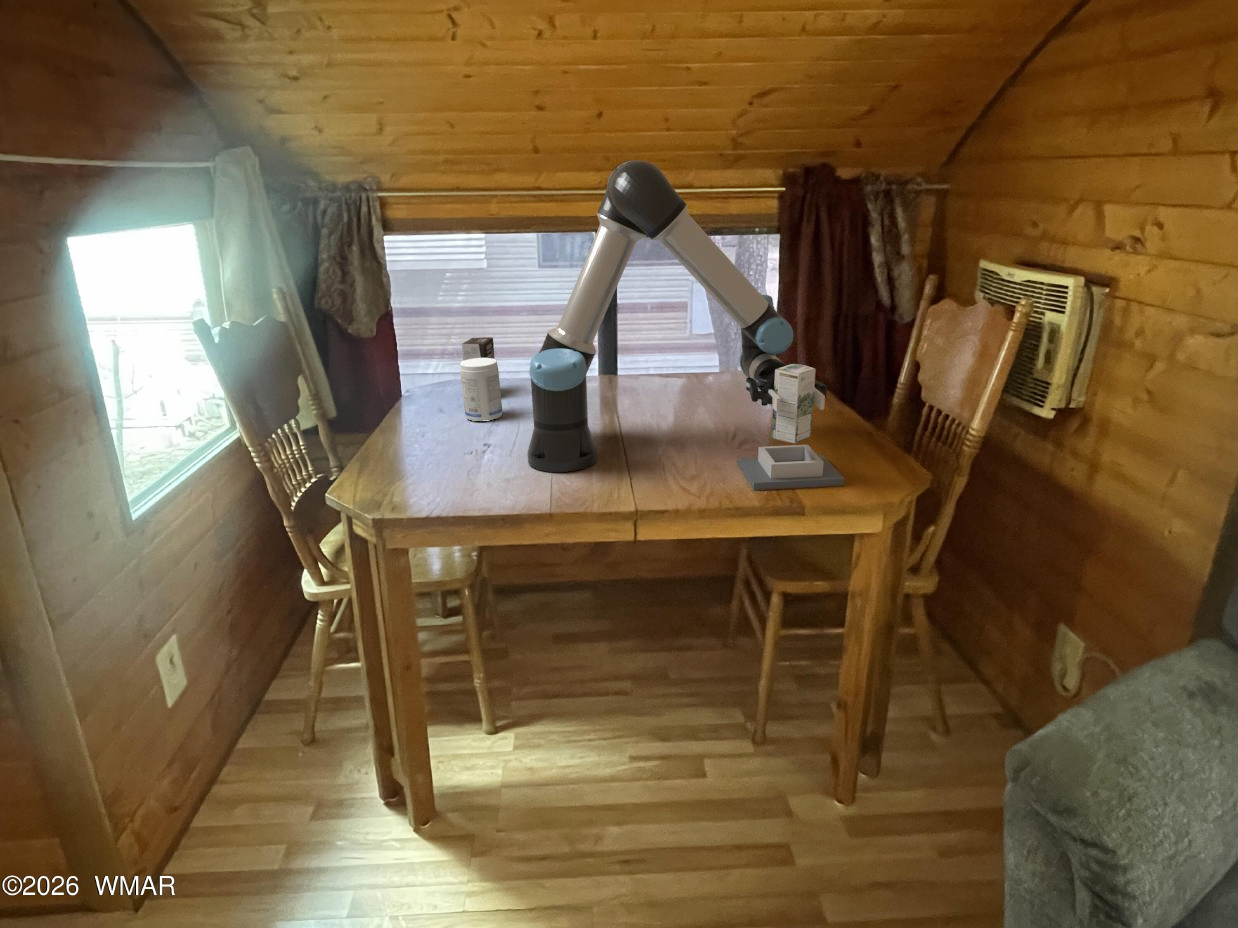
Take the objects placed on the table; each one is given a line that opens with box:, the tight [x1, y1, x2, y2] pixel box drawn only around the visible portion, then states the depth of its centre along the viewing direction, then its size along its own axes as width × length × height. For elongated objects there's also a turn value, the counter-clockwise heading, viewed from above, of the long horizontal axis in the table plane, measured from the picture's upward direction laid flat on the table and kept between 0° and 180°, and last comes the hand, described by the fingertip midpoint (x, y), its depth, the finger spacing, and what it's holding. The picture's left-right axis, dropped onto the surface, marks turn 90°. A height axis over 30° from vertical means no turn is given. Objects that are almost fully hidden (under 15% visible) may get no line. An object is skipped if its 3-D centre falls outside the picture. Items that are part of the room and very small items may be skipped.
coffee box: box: [461, 336, 496, 361], centre depth 220 cm, size 9×6×16 cm
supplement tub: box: [459, 358, 503, 422], centre depth 201 cm, size 10×10×15 cm
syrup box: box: [771, 363, 817, 445], centre depth 156 cm, size 6×6×14 cm
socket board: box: [737, 444, 845, 491], centre depth 161 cm, size 18×14×4 cm
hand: (800, 404), depth 151 cm, fingers closed on syrup box, 8 cm apart
